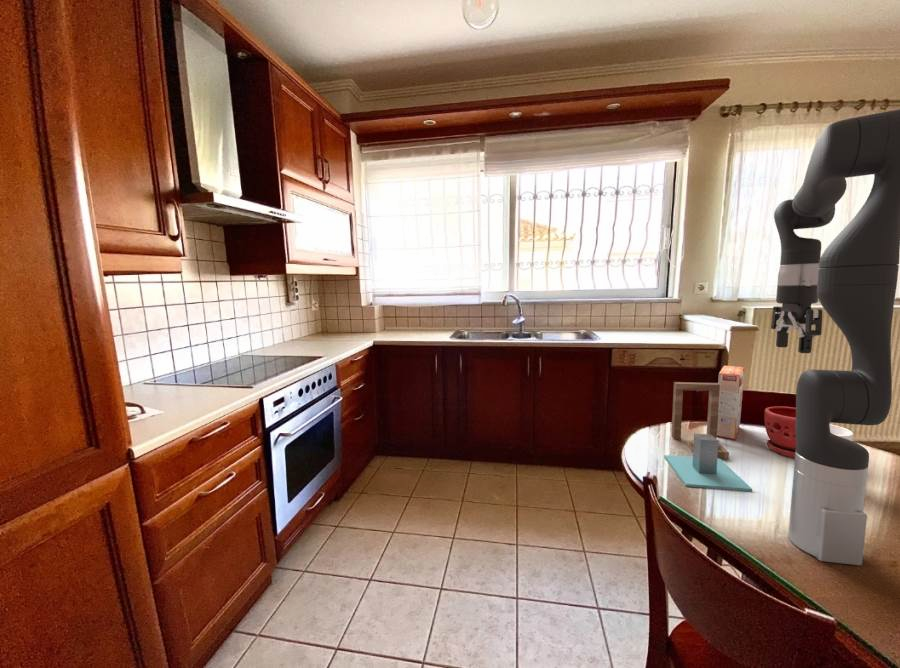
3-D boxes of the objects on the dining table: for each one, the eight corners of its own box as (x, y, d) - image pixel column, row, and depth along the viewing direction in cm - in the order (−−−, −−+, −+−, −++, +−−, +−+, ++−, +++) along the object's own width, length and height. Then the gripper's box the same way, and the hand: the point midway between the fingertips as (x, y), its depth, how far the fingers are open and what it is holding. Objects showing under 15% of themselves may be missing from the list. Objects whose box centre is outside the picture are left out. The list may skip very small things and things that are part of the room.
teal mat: (751, 491, 89) (752, 488, 89) (685, 486, 92) (685, 483, 92) (719, 460, 104) (719, 458, 104) (664, 457, 107) (664, 455, 107)
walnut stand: (737, 459, 104) (742, 396, 102) (689, 456, 107) (692, 395, 105) (713, 438, 119) (716, 383, 116) (671, 436, 121) (673, 382, 119)
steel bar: (716, 474, 96) (718, 440, 94) (698, 473, 96) (700, 439, 95) (709, 467, 99) (711, 434, 98) (692, 466, 100) (694, 433, 99)
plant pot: (829, 453, 106) (833, 412, 105) (816, 467, 99) (820, 423, 98) (770, 439, 117) (773, 401, 116) (755, 450, 110) (757, 410, 108)
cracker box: (737, 440, 117) (741, 374, 114) (713, 436, 121) (717, 372, 118) (741, 427, 127) (745, 366, 124) (719, 423, 131) (722, 364, 128)
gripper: (762, 284, 99) (758, 345, 100) (799, 284, 85) (793, 354, 87) (796, 283, 97) (791, 345, 99) (839, 282, 83) (832, 355, 85)
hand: (792, 349), depth 93 cm, fingers open, 8 cm apart
